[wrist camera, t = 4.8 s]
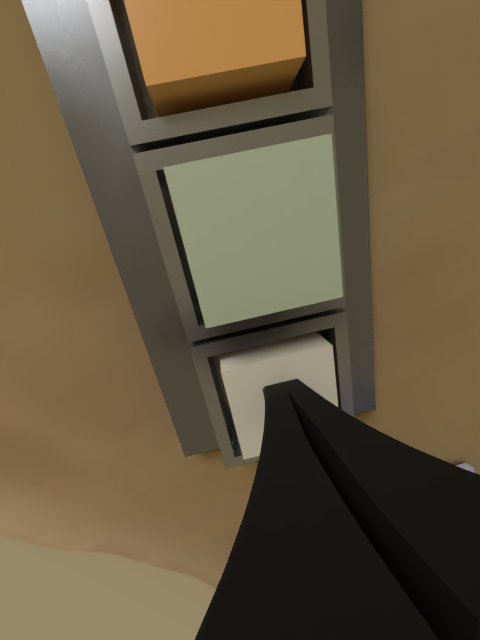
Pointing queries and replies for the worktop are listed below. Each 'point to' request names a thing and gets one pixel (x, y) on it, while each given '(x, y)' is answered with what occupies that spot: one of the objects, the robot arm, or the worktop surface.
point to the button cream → (273, 380)
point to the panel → (158, 211)
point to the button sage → (260, 228)
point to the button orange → (216, 50)
